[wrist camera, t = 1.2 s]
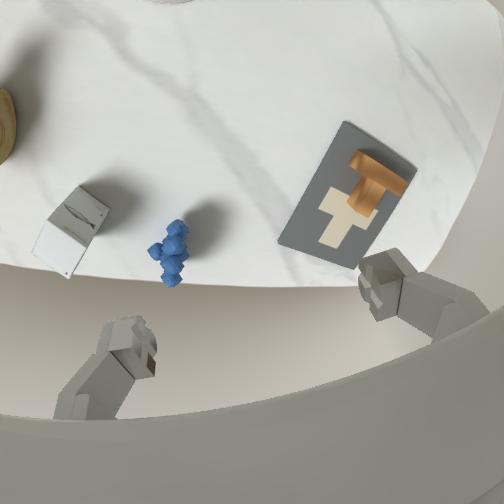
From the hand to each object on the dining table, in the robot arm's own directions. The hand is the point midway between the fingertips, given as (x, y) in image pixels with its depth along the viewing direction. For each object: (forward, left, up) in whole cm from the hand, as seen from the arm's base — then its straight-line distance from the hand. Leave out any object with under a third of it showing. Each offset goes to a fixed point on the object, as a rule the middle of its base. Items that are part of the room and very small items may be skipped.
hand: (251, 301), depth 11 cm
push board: (+3, +27, -37) cm, 46 cm away
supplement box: (+21, -16, -38) cm, 46 cm away
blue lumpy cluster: (+20, 0, -38) cm, 43 cm away
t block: (-1, +27, -36) cm, 45 cm away
